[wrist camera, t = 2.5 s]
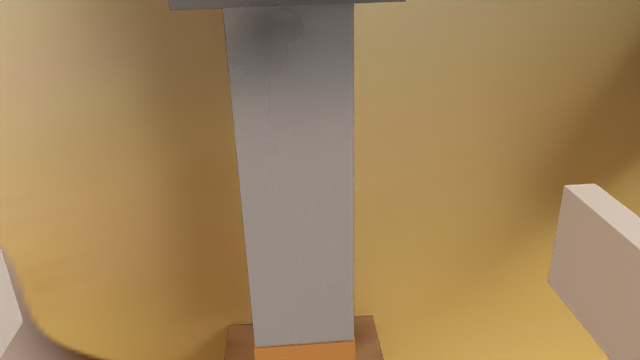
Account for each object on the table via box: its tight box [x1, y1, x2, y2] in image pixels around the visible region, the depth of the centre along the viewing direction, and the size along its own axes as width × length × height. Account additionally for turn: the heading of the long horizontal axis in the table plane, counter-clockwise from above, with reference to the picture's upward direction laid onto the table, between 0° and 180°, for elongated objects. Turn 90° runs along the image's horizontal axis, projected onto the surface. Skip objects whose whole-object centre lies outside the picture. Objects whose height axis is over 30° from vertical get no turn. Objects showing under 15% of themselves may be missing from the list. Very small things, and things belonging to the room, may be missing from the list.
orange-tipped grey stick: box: [223, 3, 355, 360], centre depth 17 cm, size 4×25×4 cm, turn 2°
